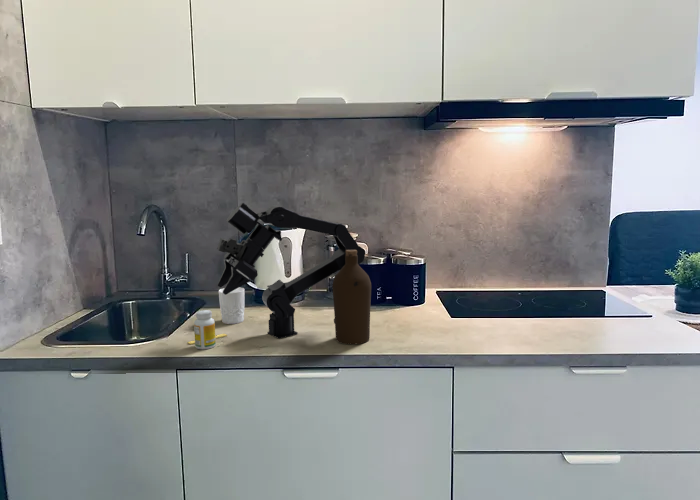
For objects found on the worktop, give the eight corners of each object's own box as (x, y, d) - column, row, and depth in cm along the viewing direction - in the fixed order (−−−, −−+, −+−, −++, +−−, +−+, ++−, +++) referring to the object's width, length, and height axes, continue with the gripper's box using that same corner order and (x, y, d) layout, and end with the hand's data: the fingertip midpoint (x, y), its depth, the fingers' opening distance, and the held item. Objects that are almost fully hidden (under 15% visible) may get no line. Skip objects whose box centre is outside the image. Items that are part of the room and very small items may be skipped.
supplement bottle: (192, 350, 141) (190, 314, 139) (198, 343, 146) (196, 309, 144) (213, 349, 141) (210, 314, 139) (218, 343, 146) (216, 309, 144)
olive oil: (379, 339, 147) (379, 250, 143) (351, 348, 140) (350, 255, 136) (353, 330, 155) (352, 246, 151) (325, 339, 148) (323, 250, 144)
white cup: (235, 316, 172) (233, 285, 170) (251, 320, 167) (249, 289, 166) (215, 321, 166) (213, 290, 164) (230, 326, 161) (229, 294, 160)
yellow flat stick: (224, 334, 153) (224, 333, 153) (227, 335, 152) (227, 334, 152) (187, 343, 146) (187, 342, 146) (190, 344, 145) (190, 343, 145)
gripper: (227, 223, 152) (193, 267, 150) (239, 230, 134) (200, 280, 133) (257, 246, 156) (225, 289, 154) (273, 255, 139) (236, 304, 137)
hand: (221, 290), depth 144 cm, fingers open, 9 cm apart
